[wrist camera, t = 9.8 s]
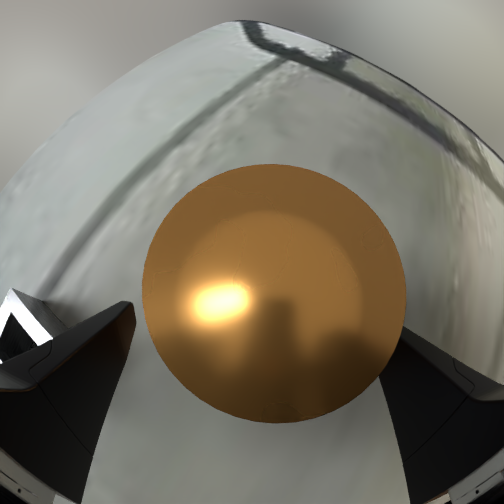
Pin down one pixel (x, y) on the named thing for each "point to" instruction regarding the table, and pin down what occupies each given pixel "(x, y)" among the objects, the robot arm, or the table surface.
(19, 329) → the block
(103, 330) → the robot arm
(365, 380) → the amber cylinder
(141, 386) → the table surface
